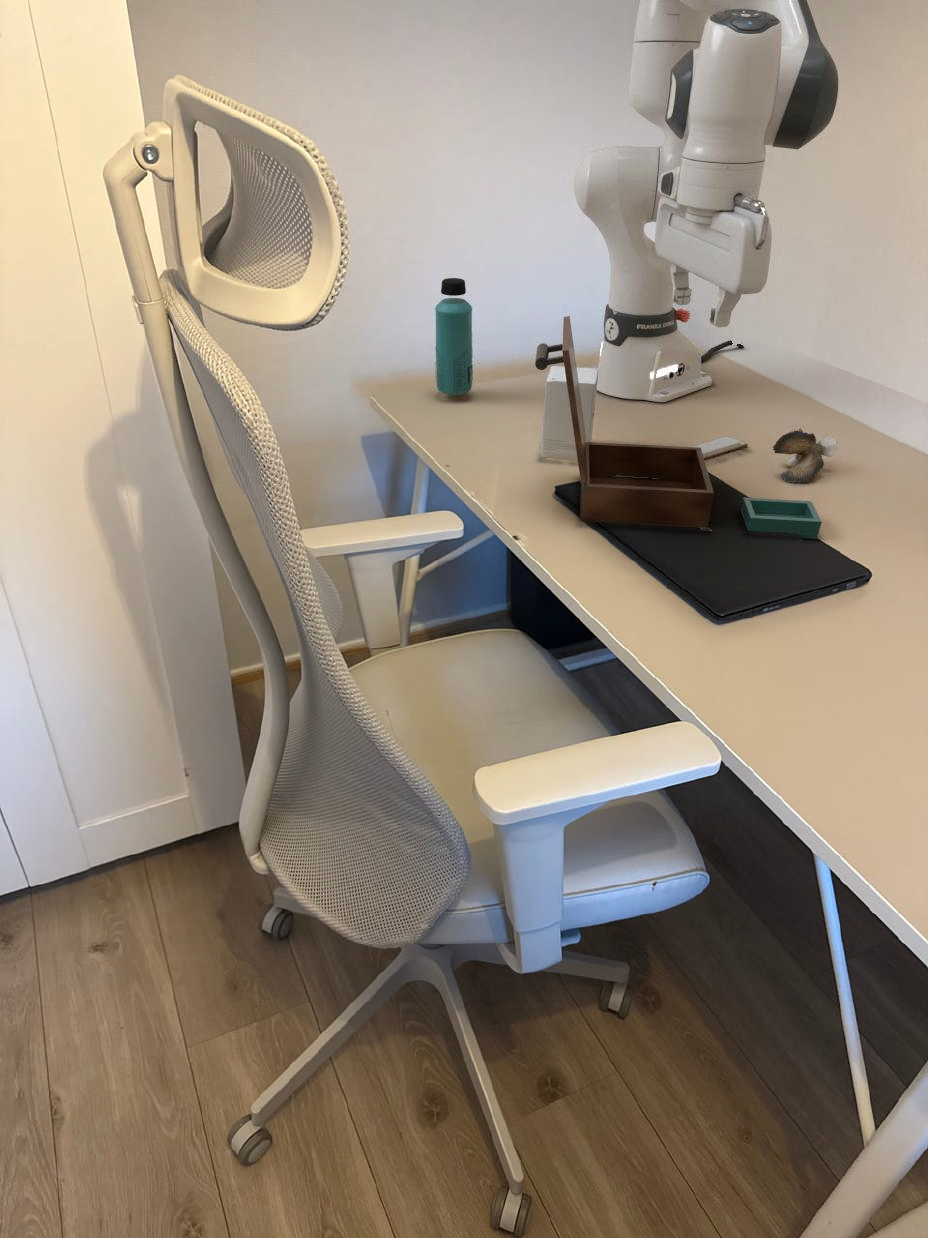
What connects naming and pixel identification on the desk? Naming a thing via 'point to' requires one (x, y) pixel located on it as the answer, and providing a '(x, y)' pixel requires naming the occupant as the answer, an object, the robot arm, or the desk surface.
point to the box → (646, 485)
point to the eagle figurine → (804, 454)
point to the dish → (781, 516)
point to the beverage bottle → (454, 340)
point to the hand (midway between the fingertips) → (699, 313)
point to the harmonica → (720, 447)
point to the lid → (572, 386)
